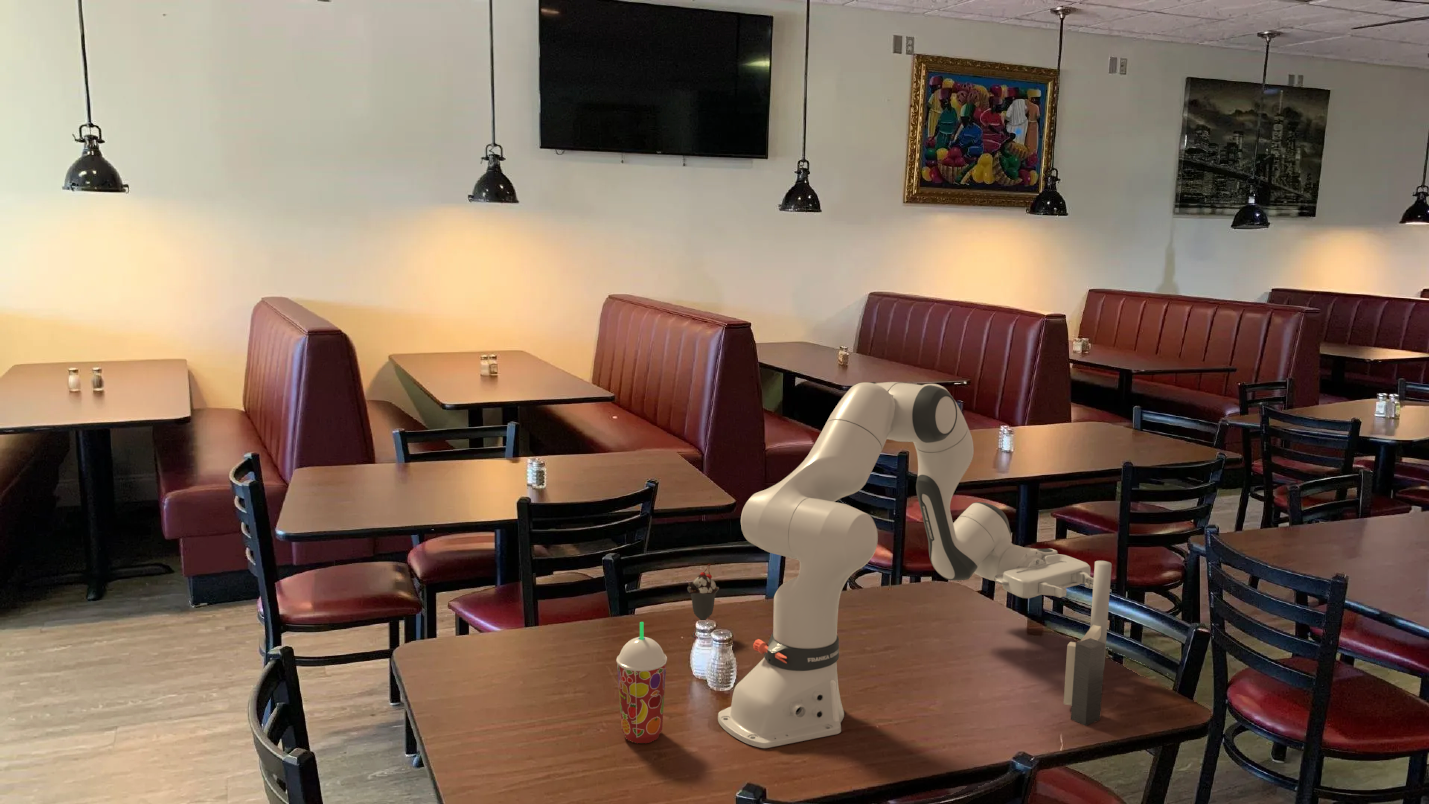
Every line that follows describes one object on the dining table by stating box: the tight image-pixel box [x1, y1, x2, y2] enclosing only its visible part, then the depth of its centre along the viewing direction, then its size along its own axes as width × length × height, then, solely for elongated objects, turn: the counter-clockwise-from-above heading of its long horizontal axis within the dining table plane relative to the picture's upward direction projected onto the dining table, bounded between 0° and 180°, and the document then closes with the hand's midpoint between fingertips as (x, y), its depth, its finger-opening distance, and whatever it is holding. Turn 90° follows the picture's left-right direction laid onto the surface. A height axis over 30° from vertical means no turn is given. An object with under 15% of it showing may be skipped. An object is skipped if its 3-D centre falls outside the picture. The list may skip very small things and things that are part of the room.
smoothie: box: [615, 621, 668, 744], centre depth 173 cm, size 8×8×20 cm
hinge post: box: [1070, 638, 1106, 727], centre depth 181 cm, size 4×3×14 cm
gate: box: [1063, 560, 1113, 707], centre depth 192 cm, size 21×3×21 cm, turn 147°
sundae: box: [686, 563, 720, 638], centre depth 218 cm, size 7×7×15 cm
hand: (1079, 588), depth 204 cm, fingers open, 8 cm apart
